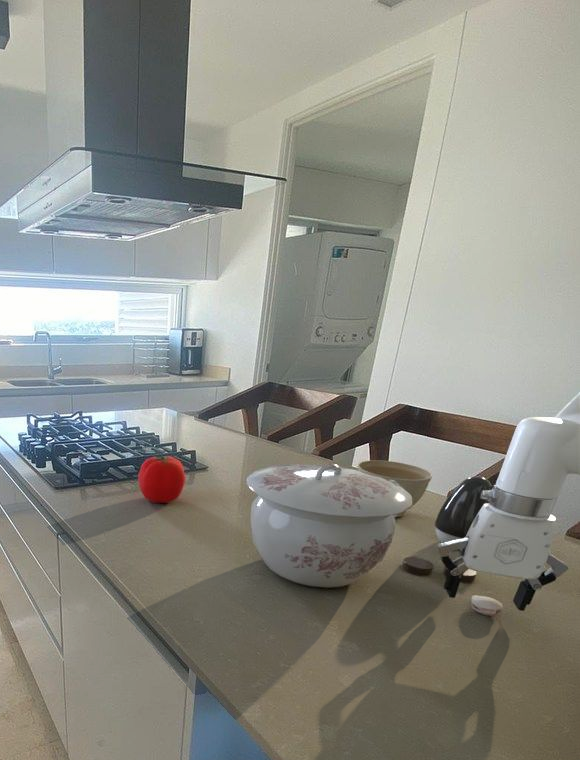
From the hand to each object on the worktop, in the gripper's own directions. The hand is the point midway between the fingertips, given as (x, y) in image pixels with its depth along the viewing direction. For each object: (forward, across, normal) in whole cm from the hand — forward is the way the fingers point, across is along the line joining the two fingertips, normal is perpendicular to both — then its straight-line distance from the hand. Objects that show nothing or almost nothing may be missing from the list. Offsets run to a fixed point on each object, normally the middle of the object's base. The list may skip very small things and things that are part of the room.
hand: (483, 600), depth 80 cm
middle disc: (+2, -1, +12) cm, 12 cm away
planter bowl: (+2, -11, +44) cm, 45 cm away
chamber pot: (+2, -27, +4) cm, 27 cm away
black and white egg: (+2, +2, +28) cm, 28 cm away
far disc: (+2, -8, +12) cm, 14 cm away
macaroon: (+2, 0, 0) cm, 2 cm away
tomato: (+3, -65, +30) cm, 71 cm away
